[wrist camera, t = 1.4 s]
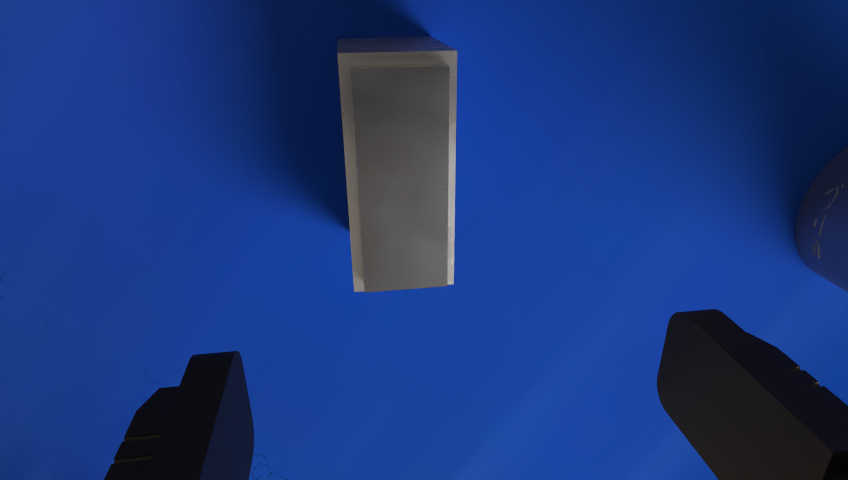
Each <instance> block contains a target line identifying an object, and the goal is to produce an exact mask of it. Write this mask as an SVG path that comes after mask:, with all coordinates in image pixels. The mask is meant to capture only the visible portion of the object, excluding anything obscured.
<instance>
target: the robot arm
mask: <svg viewBox="0 0 848 480" xmlns="http://www.w3.org/2000/svg"><path fill="white" fill-rule="evenodd" d="M795 233H796V245H797V248H798V252H799V255H800V257H801V258H802V260H803V261H804V263H805V264H806V266H808V267H809V268H810V269H811V270H813V271H814V272H815V273H817V274H818V275H820V276H822V277H823V278H825V279H827V280H828V281H830V282H832V283H833V284H835V285H837V286H838V287H840V288H842V289H843V290H845V291H847V292H848V146H847V147H846V148H844V149H843V150H842V151H840V152H839V153H838V154H837V155H836V156H835V157H834V158H833V159H832V160H831V161H829V162H828V163H827V164H826V166H825V167H824V168H823V169H822V171H821V172H820V173H819V174H818V175H817V177H816V178H815V179H814V181H813V182H812V184H811V186H810V187H809V189H808V191H807V193H806V194H805V196H804V199H803V201H802V204H801V206H800V209H799V212H798V216H797V221H796V227H795ZM657 389H658V394H659V398H660V401H661V403H662V406H663V407H664V409H665V411H666V412H667V414H668V415H669V416H670V417H671V419H672V420H673V421H674V423H675V424H676V425H677V426H678V428H679V429H680V430H681V432H682V433H683V434H684V436H685V437H686V438H687V439H688V441H689V442H690V443H691V445H692V446H693V447H694V448H695V450H696V451H697V452H698V454H699V455H700V456H701V457H702V459H703V460H704V461H705V463H706V464H707V465H708V466H709V468H710V469H711V470H712V472H713V473H714V474H715V476H716V477H717V478H718V479H719V480H848V406H847V405H846V404H845V403H844V402H843V401H841V400H840V399H839V398H838V397H837V396H835V395H834V394H833V393H832V392H830V391H829V390H828V389H827V388H826V387H824V386H823V387H820V385H819V382H818V381H817V380H816V379H815V378H813V377H812V376H811V375H810V374H809V373H807V372H806V371H805V370H802V371H801V370H800V366H799V365H798V364H796V363H795V362H794V361H793V360H791V359H790V358H789V357H788V356H787V355H785V354H784V353H783V352H782V351H780V350H779V349H778V348H777V347H775V346H773V345H771V344H769V343H767V342H765V341H763V340H761V339H759V338H757V337H755V336H753V335H751V334H749V333H746V332H745V331H744V330H743V329H741V328H740V327H739V326H738V325H737V324H736V323H734V322H733V321H732V320H731V319H730V318H728V317H727V316H726V315H725V314H724V313H722V312H721V311H719V310H716V309H710V310H699V311H688V312H677V313H675V314H674V315H672V317H671V318H670V320H669V324H668V328H667V333H666V338H665V343H664V348H663V352H662V357H661V362H660V367H659V372H658V377H657ZM124 438H125V440H124V442H122V443H121V445H120V447H119V449H118V451H117V453H116V456H115V458H114V464H111V466H110V468H109V471H108V473H107V475H106V477H105V479H104V480H249V474H250V469H251V463H252V457H253V447H254V429H253V419H252V413H251V407H250V402H249V396H248V391H247V385H246V380H245V374H244V368H243V363H242V358H241V355H240V353H239V352H238V351H232V352H221V353H209V354H198V355H193V356H192V357H191V358H190V360H189V363H188V365H187V368H186V370H185V373H184V376H183V378H182V381H181V383H180V386H177V387H166V388H159V389H158V390H157V391H156V392H155V393H154V394H153V395H152V396H151V397H150V398H149V399H148V400H147V401H146V402H145V403H144V404H143V405H142V406H141V407H140V408H139V409H138V410H137V411H136V413H135V415H134V417H133V419H132V422H131V424H130V426H129V428H128V430H127V432H126V434H125V436H124Z"/></svg>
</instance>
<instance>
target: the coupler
mask: <svg viewBox="0 0 848 480" xmlns="http://www.w3.org/2000/svg"><path fill="white" fill-rule="evenodd" d="M337 55H338V69H339V83H340V97H341V111H342V126H343V140H344V154H345V168H346V182H347V196H348V210H349V225H350V239H351V253H352V267H353V281H354V292H359V291H365V292H375V291H388V290H401V289H414V288H427V287H440V286H447V285H450V284H454V226H455V159H456V92H457V50H455V49H453V48H452V47H450V46H448V45H446V44H444V43H442V42H441V41H439V40H437V39H435V38H433V37H431V36H420V37H373V38H338V48H337Z"/></svg>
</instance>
